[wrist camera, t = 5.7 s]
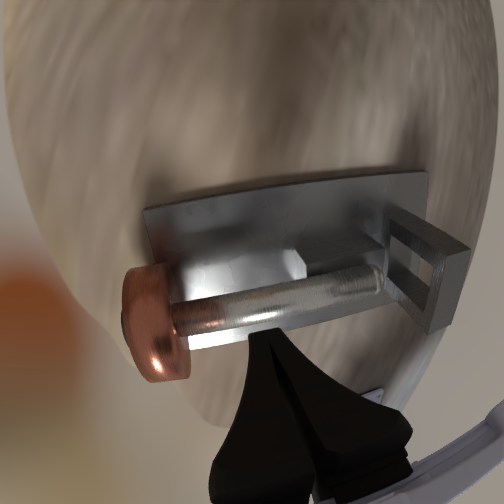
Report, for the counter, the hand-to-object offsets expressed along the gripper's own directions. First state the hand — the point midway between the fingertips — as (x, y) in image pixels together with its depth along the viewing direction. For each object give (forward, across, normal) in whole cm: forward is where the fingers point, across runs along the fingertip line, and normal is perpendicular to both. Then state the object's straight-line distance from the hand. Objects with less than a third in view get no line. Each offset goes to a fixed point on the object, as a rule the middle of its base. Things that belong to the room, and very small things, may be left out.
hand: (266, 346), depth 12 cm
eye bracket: (+7, -4, 0) cm, 8 cm away
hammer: (+6, 0, 0) cm, 6 cm away
